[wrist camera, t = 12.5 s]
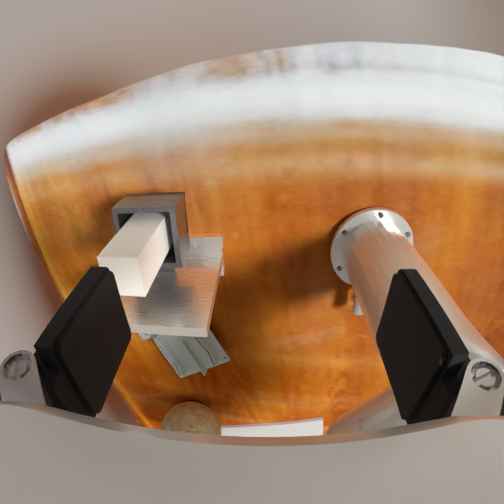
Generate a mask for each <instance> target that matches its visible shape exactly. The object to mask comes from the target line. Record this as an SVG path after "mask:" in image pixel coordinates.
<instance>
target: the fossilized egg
mask: <svg viewBox="0 0 504 504" xmlns="http://www.w3.org/2000/svg"><path fill="white" fill-rule="evenodd" d="M161 430H167V431H176V432H185V433H195V434H206V435H220V436H221V433H222V431H221V425H220V422H219V419H218V417H217V416H216V415H215V413H214V412H213V411H212V410H211V409H210V408H209V407H207V406H206V405H204V404H201V403H198V402H193V401H188V402H183V403H179V404H177V405H175V406H174V407H172V408H171V409H170V410H169V411H168V412H167V413H166V415H165V417H164V419H163V421H162V426H161Z"/></svg>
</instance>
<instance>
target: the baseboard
mask: <svg viewBox="0 0 504 504" xmlns="http://www.w3.org/2000/svg"><path fill="white" fill-rule="evenodd" d="M221 431H222V433H221V436H241V437H295V436H317V435H323V417H319V418H311V419H303V420H294V421H284V422H272V423H258V424H237V425H221Z"/></svg>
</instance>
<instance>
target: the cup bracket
mask: <svg viewBox="0 0 504 504" xmlns="http://www.w3.org/2000/svg"><path fill="white" fill-rule="evenodd" d="M111 211H112V216H113V221H114V226H115V231H116V234H117V233H118V231H119V230H120V229H121V228H122V227H123V226H124V225H125V223H126V222H127V221H128V220H129V219H130V218H131V217H132V216H133V215H134V214H135V213H149V212H169V213H170V221H171V229H172V236H173V244H172V246H171V248H170V250H169V251H168V253H167V255H166V257H165V259H164V261H163V263H162V265H161V267H160V269H159V271H158V273H157V275H156V277H155V279H154V281H153V283H152V285H151V287H150V289H149V291H148V293H147V295H146V297H140V296H124V295H120V297H121V301H122V304H123V307H124V311H125V314H126V317H127V320H128V323H129V326H130V329H131V332H135V333H147V334H160V335H174V336H192V337H208V332H209V327H210V322H211V317H212V312H213V307H214V302H215V297H216V292H217V288H218V283H219V278H220V276H224V273H225V264H224V248H223V233H188V223H187V213H186V203H185V192H169V193H146V194H128V195H126V196H125V197H123V198H122V199H121V200H120V201H119V202H118V203H117V204H116V205H115V206H113V207H112V208H111Z"/></svg>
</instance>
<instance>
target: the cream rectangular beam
mask: <svg viewBox="0 0 504 504" xmlns="http://www.w3.org/2000/svg"><path fill="white" fill-rule="evenodd" d="M172 244H173V236H172V229H171V221H170V213H169V212H149V213H135V214H134V215H133V216H132V217H131V218H130V219H129V220H128V221H127V222H126V223H125V225H124V226H123V227H122V228H121V229H120V230H119V231H118V233H117V234H116V235H115V236H114V237H113V238H112V239H111V241H110V242H109V243H108V244H107V245H106V247H105V248H104V249H103V250H102V251H101V252H100V254H99V255H98V256H97V260H98V264H99V267H107V268H108V269H109V270H110V271H112V272H113V273H114V276H115V280H116V283H117V287H118V290H119V294H120V295H124V296H140V297H146V295H147V293H148V291H149V289H150V287H151V285H152V283H153V281H154V279H155V277H156V275H157V273H158V271H159V269H160V267H161V265H162V263H163V261H164V259H165V257H166V255H167V253H168V251H169V250H170V248H171V246H172Z"/></svg>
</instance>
